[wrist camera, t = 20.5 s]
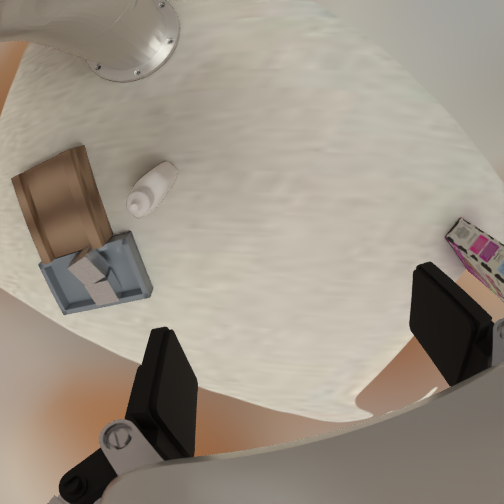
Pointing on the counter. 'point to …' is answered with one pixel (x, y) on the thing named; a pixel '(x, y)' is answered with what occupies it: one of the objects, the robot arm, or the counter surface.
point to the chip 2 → (105, 289)
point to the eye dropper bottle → (151, 189)
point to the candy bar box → (479, 255)
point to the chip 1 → (88, 266)
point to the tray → (121, 263)
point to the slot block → (62, 205)
